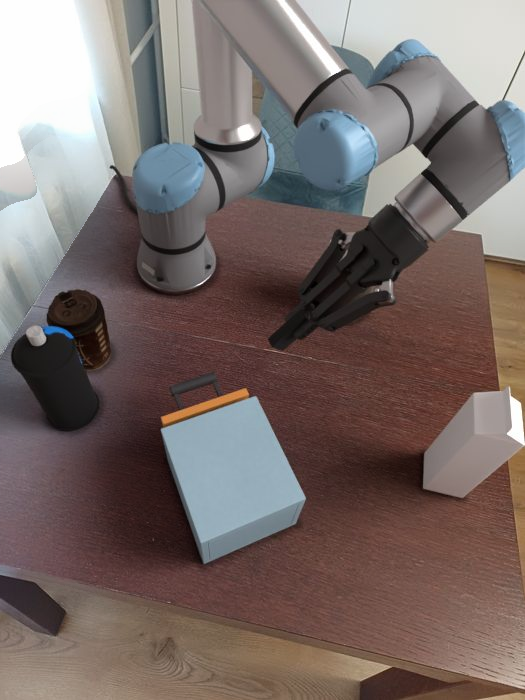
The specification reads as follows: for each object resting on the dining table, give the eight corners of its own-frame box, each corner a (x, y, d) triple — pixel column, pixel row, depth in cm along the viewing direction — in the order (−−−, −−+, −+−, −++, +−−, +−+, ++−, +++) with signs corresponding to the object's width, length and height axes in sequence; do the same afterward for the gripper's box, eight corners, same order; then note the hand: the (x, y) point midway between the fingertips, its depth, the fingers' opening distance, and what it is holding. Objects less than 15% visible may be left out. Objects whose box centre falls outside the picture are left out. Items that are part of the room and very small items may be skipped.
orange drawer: (155, 412, 78) (148, 383, 70) (230, 387, 81) (230, 356, 74) (199, 536, 67) (196, 516, 60) (282, 501, 71) (289, 478, 64)
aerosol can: (87, 436, 76) (50, 364, 59) (36, 425, 76) (-15, 350, 60) (107, 391, 80) (78, 312, 64) (59, 381, 81) (18, 300, 65)
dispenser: (167, 461, 74) (160, 428, 65) (252, 429, 78) (256, 395, 69) (203, 564, 66) (200, 543, 57) (295, 523, 70) (306, 498, 61)
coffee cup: (72, 333, 87) (51, 282, 76) (120, 335, 87) (106, 284, 76) (61, 375, 82) (37, 327, 71) (112, 377, 82) (96, 329, 71)
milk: (422, 489, 74) (484, 422, 56) (423, 452, 78) (482, 378, 60) (463, 498, 74) (539, 434, 56) (462, 461, 77) (534, 389, 59)
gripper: (453, 270, 59) (310, 386, 68) (394, 203, 66) (271, 317, 75) (432, 247, 54) (279, 377, 62) (370, 177, 60) (240, 304, 69)
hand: (275, 344), depth 69 cm, fingers closed
